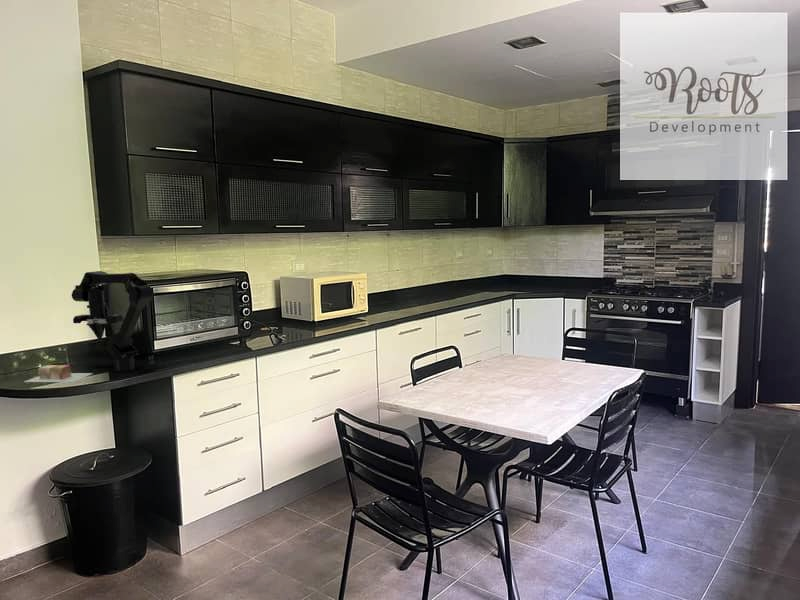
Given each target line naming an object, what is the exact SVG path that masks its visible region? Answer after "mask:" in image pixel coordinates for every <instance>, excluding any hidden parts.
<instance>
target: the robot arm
mask: <svg viewBox="0 0 800 600" xmlns="http://www.w3.org/2000/svg"><path fill="white" fill-rule="evenodd" d="M106 284H123V285H124V289H125V292H126V293H127V294H128V301H129V306H128V308H127V310H126V313H125V316H124V317H123V315H122V314H117V313H116V314H115V308H112V307H108V304H107V303H105V297H104V292H106V291H108V289H107V288H106V287H105V286H104V285H106ZM132 284H133V285H132ZM134 285H135V286H134ZM74 287H75V288H74V289H73V290H72V291H71V298H72V300H73V301H75V302H83V303H84V302H86V303H88V304H87V305H86V308H87V309H88V310H89V314H78V315H75V316H74V317H73V319H72V322H73V324H82V322H87V323H86V326H88V327H89V328H90V330H91V331H92V332H93V334H94V335H95V336H96V338H97V340H100V341H101V340H102V339H103V337H104V332H105V329H106V327H107V325H109V324H117V323H120V322H122V323H121V325H120V327H119V328H120V329H119V330H118V332H117V333H113V334H111V335H110V336H109V341H107V349H108V352H109V355H110V358H111V360H114V371H116V372H123V373H124V372H131V371H133V370H135V369H136V367H135V357H134V356H137V355H138V354H137V350H136V349H135V347H134V346H133V345H132V342H133V341H132V338H131V335H132V333H133V330H134V328H135V326H136V323H137V321H138V320H139V319H140V316H141V314H142V311H143V310H144V308H145V307H146V306H147V305H148V304H149V303H150V302H151V300H152V298H153V297H154V295H155V292H154V290H153V288H152V286H151V285H149V284H148V282H147V281H145V280H143V279H142V278H140V277H139V276H138V275H137V274H136V273H134V272H127V273H121V272H120V273H107V272H106V271H102V270H96V271H89V272H88V271H87V272H85V273H84V275H83V277H82V280H81V282H80V284H77V285H74Z"/></svg>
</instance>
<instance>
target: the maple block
mask: <svg viewBox="0 0 800 600" xmlns="http://www.w3.org/2000/svg"><path fill="white" fill-rule="evenodd" d="M71 373H72V372H71V365H67V364H66V365H65V364H64V365H63V364H61V365H58V364H57V365H53V364H52V365H50V364H47V365H45V366H41V367H38V375H39V376H40V379H66V378H68V377H71Z"/></svg>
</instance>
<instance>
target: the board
mask: <svg viewBox="0 0 800 600" xmlns="http://www.w3.org/2000/svg"><path fill="white" fill-rule="evenodd" d="M93 374H94V373H93V372H92V373H91V372H90V373H89V372H87V373H84V372H83V373H81V372H76V373H75V372H74V373H73V372H71V377H68V378H66V379H40V376H35V377H32V378H30V379H28V380H24V381H23V383H73V382H76V381H78V380H81V379H83V378H86V377H88V376H90V375H93Z"/></svg>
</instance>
